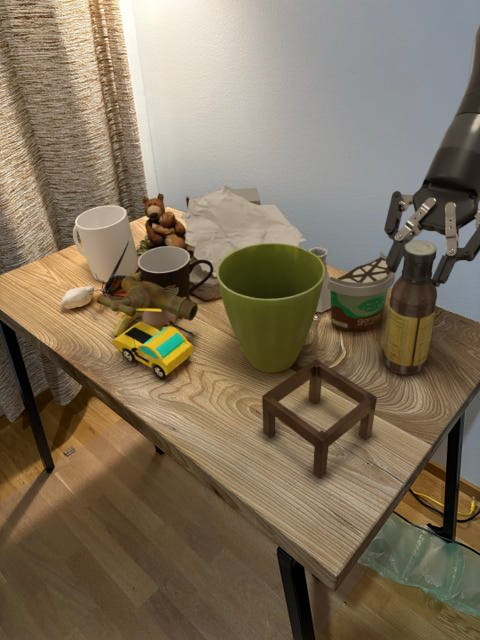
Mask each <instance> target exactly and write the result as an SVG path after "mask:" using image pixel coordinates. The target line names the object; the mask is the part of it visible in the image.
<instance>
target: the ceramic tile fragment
mask: <svg viewBox="0 0 480 640" xmlns="http://www.w3.org/2000/svg"><path fill="white" fill-rule="evenodd" d="M208 274H209V273H208V272H207V271H206V270H204V271H202V268H201V266H200V265H199V264H198V265H196V266H195V267H194V268H193V270H192V272H191V273H190V289H191V288H192V287H194V286H195V285H196V284H198V283H199V282H200V281H202V280H203V279H204V278H205V277H206V276H207V275H208ZM191 295H195V297H198V298H200V299H202V300H204V301H208V300H211V299H216V298H220V297H221V298H222V296H221V293H220V289H219V285H218V280H217V277H214V276H213V274H212V275H211V276H210V278H209V279H208V280H207V281H206V282H205V283H203V284H202V285H201V286H200V287H198V288H197V289H195V290H194V291H193V292H192V293H191Z"/></svg>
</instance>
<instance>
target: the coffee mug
mask: <svg viewBox="0 0 480 640" xmlns="http://www.w3.org/2000/svg"><path fill="white" fill-rule="evenodd" d="M200 263H205V264H207V265H209V266H210V272H209V274H208V275H207V276H206V277H205V278H204V279H203V280H202V281H200V282H199V283H198V284H196V285H195V286H194V287H192V288H191V289H190V273H191V272H192V270H193V268H194V267H195V266H196V265H198V264H200ZM138 265H139V268H138V269H139V273H141V275H142V278H143V281H147V282H151V283H155V284H157V285H159V286H161V287H162V288H164V289H165V290H166V292H167V293H168V294H170V295H172V296H174V295H176V296H178V297H181V298H184V297H186V298H188V299H190V297H191V295H192V292H193V291H194V290H195V289H197V288H198V287H200V286H201V285H202V284H203V283H205V282H206V281H207V280H208V279H209V278H210V276H211V275H212V273H213V266H212V263H211V262H210V261H207V260H197V261H195V262H193V263H192V264H190V255H189V253H188V252H187V251H186V250H184V249H182V248H179V247H173V246H164V247H157V248H154V249H151V250H148V251H147V252H145V253H143V254H142V255H141V256H140V257H139V259H138Z"/></svg>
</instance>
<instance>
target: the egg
mask: <svg viewBox="0 0 480 640" xmlns="http://www.w3.org/2000/svg"><path fill="white" fill-rule="evenodd" d="M161 311H162V312H161ZM161 311H144V313H143V314H142V322H144V323H146V324H148V325H150V326H152V327H154V328H156V329H158V330H159V331H161V330H162V328H163V325H165V324H166V325H168V326H169V327H173V325H170V323H169V321H172V322H173V323H175V322H176V319H177V318H176V315H174V314H171V313H169V311H167V310H164V309H161Z"/></svg>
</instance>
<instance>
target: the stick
mask: <svg viewBox="0 0 480 640" xmlns="http://www.w3.org/2000/svg"><path fill="white" fill-rule="evenodd" d="M169 323H170V325H172V327H174V328H176V329H177V330H179V331H182V332H185V333H187V334H188V335H189V336H192V337H195V334H194V332H193V331H189V330H187V329H185V328H184V327H182V326H180V325H179V326H178V324H175V322H174V323H173V322H172V321H169Z"/></svg>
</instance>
